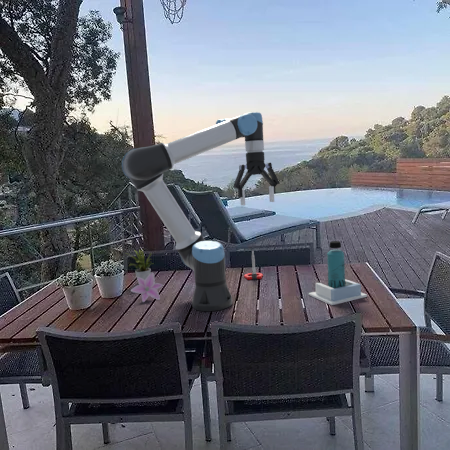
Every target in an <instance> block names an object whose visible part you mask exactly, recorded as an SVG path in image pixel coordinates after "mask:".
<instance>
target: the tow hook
mask: <svg viewBox="0 0 450 450" xmlns="http://www.w3.org/2000/svg"><path fill="white" fill-rule="evenodd" d="M254 253H255V252H254V250H251V264H252V265H251V266H252V268H251V272H250V273H246V274H244V275H243V277H244V278H245V279H246V280H247V281H250V280H253V279H254V280H261V279H263V276H264V274H263V273H261V272H257V270H256V269H257V268H256V259H255V254H254ZM249 275H250V276H249Z"/></svg>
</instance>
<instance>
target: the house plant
mask: <svg viewBox="0 0 450 450" xmlns="http://www.w3.org/2000/svg"><path fill="white" fill-rule="evenodd" d="M133 251H134V252H135V254H136V256H137V257H136V256H133V255H132V254H130V253H129V254H127V256H129V257H131V258H133V259H134V260H135V263H137V264H135V263H130V264H129V265H128V267H130V266H134V267H135V268H136V270H135V272H134V273H135V275H136V278H137V277H140V278H143V279H144V280H145V279H146V278H147V276H148V275H149V274H150V273H152V272H151V271H152V270H151V267H150V266H151V265H155V264H154V263H155V262H154V263H152V261H150V260H151V258H150V257H151V256H152V255H153V253H154V254H155V252H153V253H149V254H148V257H147V258H146V259H145V253H144V249H142V250H141V249H139V250H138V251H137V250H136V249H134V250H133ZM145 260H146V261H145Z"/></svg>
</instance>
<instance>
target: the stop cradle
mask: <svg viewBox="0 0 450 450" xmlns="http://www.w3.org/2000/svg"><path fill="white" fill-rule="evenodd" d="M345 282H346V283H345V286H344V287H339V288H335V289H334V288H332V287H329V286H328V285H327V284H324V283H321V282H315V291H312V292H308V296H309V297H312V298H314V299H317V300H318V301H321V302H323V303H325V304H328V305H330V306H334V305H339V304H342V303H347V302H350V301H353V300H354V301H355V300H359V299H363V298H366V297H368V294H367V293H364V292H362V285H361V283H358V282H355V281H352V280H350V279H346V278H345Z"/></svg>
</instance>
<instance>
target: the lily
mask: <svg viewBox="0 0 450 450" xmlns="http://www.w3.org/2000/svg"><path fill="white" fill-rule="evenodd" d="M136 279H137V282H138V284H137V285H135V286H134V287H132V288H131V289H130V292H131V293H136V294H139V295H140V294H141V301H142V303H145V302H146V301H147V300H148V298H149V297H151V298H152V299H156V300H157V301H160V300H161V297H160V294H159V292H158V290H159V289H160V288H162V287H163V286H164V285H163V284H162V283H158V282H156V281H155V280H156V278H155V273H154V272H151V273H150V274H149V275H148V276H147V278H146V279H145V280H144V279H143V278H140V277H137V276H136Z"/></svg>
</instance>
